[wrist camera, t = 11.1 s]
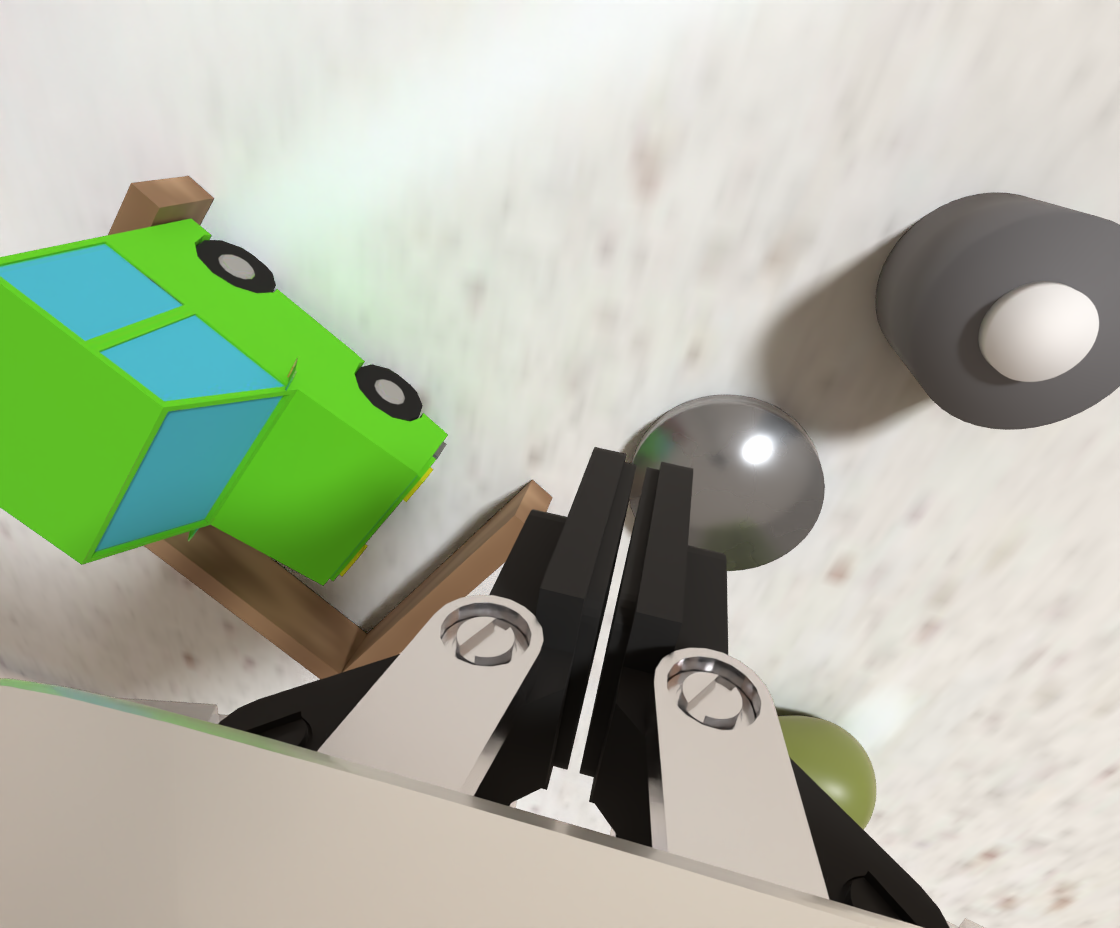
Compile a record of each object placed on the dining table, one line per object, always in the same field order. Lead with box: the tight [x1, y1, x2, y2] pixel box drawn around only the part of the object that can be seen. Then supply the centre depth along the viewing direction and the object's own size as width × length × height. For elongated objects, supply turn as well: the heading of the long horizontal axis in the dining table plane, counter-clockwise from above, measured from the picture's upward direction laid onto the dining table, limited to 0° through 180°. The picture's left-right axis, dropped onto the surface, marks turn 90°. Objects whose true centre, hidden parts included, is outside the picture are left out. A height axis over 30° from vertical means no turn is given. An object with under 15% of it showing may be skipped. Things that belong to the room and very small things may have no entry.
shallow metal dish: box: [629, 395, 825, 571], centre depth 27 cm, size 8×8×1 cm
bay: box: [108, 176, 552, 679], centre depth 30 cm, size 19×15×3 cm
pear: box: [778, 716, 876, 830], centre depth 32 cm, size 6×5×10 cm
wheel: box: [876, 193, 1120, 430], centre depth 20 cm, size 6×6×6 cm
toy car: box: [0, 219, 448, 586], centre depth 26 cm, size 10×13×10 cm
